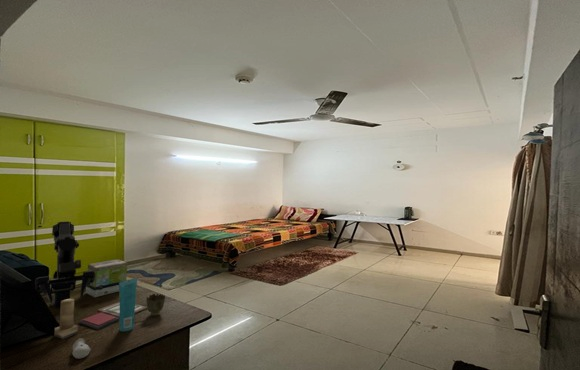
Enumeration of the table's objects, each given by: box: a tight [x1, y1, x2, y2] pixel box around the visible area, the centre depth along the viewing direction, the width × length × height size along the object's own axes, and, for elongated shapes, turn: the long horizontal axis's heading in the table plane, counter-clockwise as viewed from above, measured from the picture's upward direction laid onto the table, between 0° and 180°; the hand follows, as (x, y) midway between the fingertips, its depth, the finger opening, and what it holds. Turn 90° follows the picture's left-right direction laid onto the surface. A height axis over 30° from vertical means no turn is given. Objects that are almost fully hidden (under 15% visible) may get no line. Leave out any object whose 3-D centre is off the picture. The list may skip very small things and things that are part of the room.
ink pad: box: [78, 312, 120, 331], centre depth 121 cm, size 11×9×1 cm
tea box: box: [85, 258, 128, 298], centre depth 153 cm, size 15×10×15 cm
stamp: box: [54, 298, 79, 340], centre depth 110 cm, size 5×5×12 cm
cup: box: [146, 293, 166, 317], centre depth 130 cm, size 8×7×8 cm
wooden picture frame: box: [97, 301, 148, 319], centre depth 133 cm, size 16×12×1 cm
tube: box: [118, 276, 138, 332], centre depth 117 cm, size 7×5×19 cm, turn 158°
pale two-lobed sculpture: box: [72, 338, 92, 360], centre depth 99 cm, size 4×8×5 cm
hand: (66, 300), depth 114 cm, fingers open, 9 cm apart
